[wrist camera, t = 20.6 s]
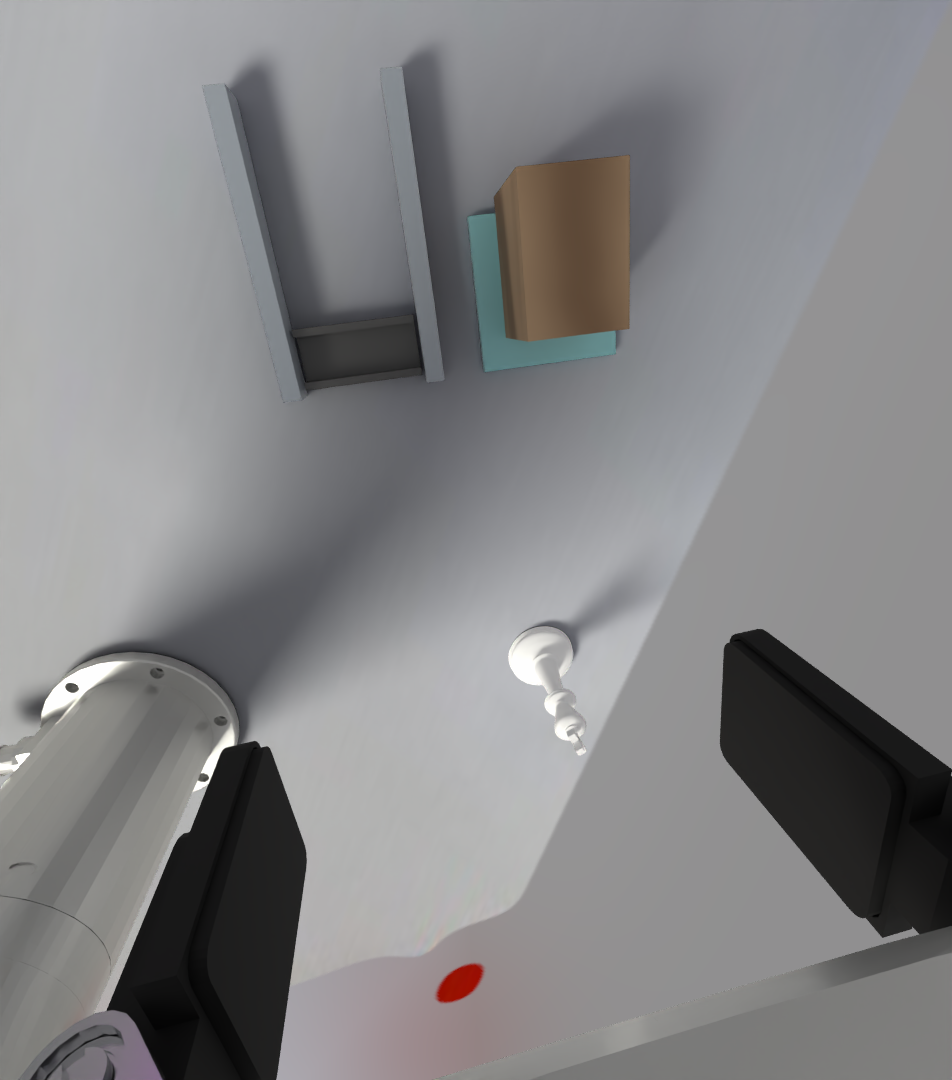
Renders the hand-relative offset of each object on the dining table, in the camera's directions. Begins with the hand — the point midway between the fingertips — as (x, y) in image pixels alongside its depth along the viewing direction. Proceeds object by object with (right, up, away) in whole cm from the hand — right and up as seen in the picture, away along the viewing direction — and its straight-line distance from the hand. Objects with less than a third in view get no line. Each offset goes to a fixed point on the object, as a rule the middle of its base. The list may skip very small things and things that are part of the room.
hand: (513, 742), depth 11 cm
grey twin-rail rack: (-8, +20, +18) cm, 28 cm away
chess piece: (+4, -4, +30) cm, 30 cm away
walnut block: (+3, +19, +19) cm, 27 cm away
